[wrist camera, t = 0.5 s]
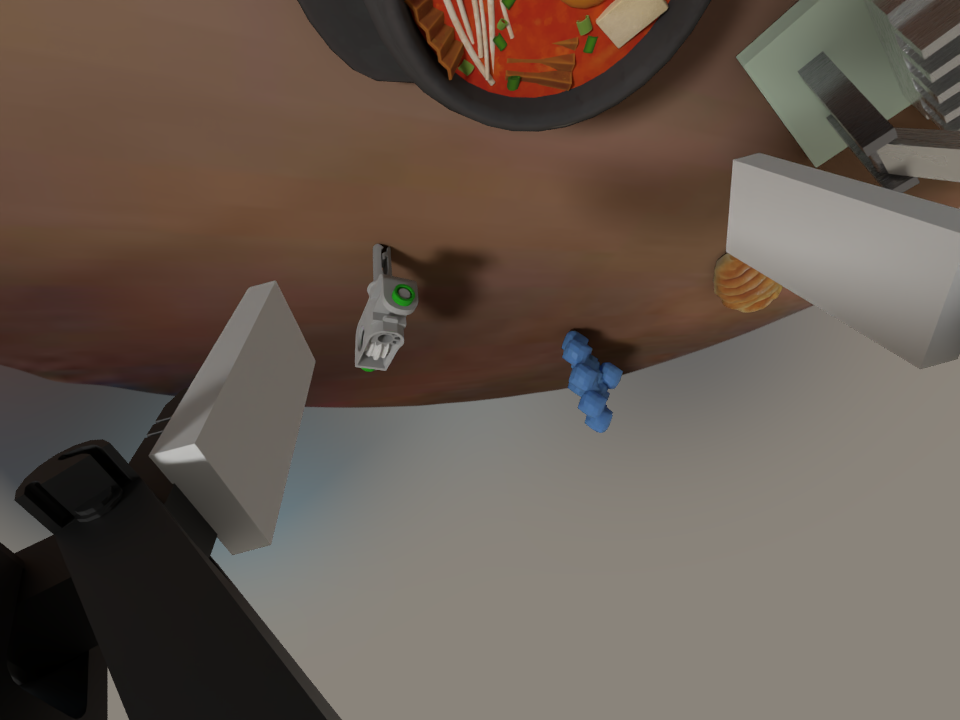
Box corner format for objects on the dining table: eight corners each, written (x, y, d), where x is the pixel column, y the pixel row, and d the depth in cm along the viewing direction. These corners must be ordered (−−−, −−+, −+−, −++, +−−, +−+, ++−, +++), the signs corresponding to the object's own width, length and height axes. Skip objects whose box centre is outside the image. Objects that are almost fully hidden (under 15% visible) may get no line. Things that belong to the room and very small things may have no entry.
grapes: (616, 351, 65) (643, 434, 59) (567, 366, 67) (588, 448, 61) (601, 306, 56) (632, 399, 50) (545, 324, 58) (568, 416, 51)
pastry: (694, 264, 52) (708, 291, 50) (760, 227, 48) (777, 255, 46) (722, 298, 58) (735, 324, 56) (782, 268, 55) (798, 295, 53)
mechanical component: (416, 211, 40) (425, 307, 35) (381, 288, 48) (384, 375, 43) (381, 202, 39) (385, 299, 34) (351, 282, 47) (351, 371, 42)
